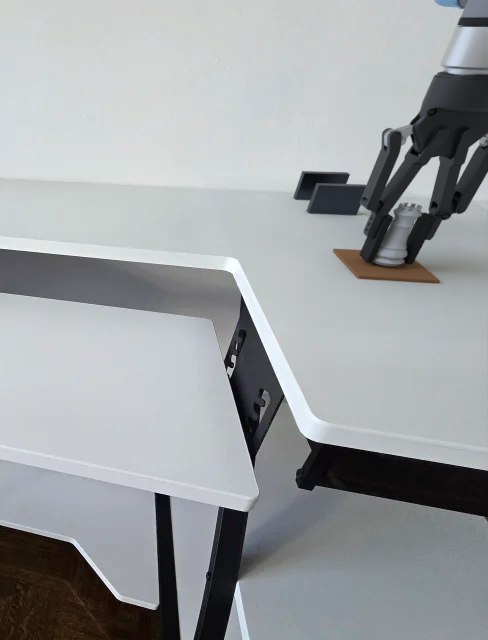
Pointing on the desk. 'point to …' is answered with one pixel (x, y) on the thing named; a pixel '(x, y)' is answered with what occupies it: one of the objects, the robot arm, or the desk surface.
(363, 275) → the mat
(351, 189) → the stand
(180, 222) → the desk surface
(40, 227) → the desk surface
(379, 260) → the rook chess piece
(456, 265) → the desk surface
